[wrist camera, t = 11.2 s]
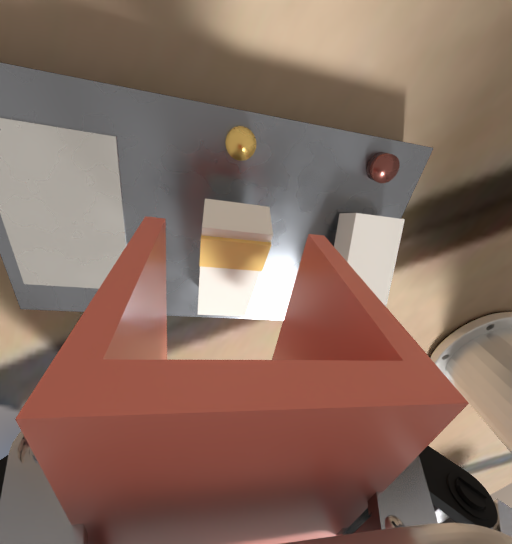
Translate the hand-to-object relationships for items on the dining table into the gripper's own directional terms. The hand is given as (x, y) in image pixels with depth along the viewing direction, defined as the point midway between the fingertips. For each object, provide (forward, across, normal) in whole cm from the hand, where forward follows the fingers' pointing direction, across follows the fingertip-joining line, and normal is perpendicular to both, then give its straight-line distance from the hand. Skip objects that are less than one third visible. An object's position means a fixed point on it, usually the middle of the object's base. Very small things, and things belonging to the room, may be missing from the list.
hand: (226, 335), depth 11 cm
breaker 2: (+5, -9, 0) cm, 10 cm away
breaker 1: (+6, 0, 0) cm, 7 cm away
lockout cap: (0, 0, 0) cm, 0 cm away
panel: (+11, +1, -1) cm, 11 cm away
